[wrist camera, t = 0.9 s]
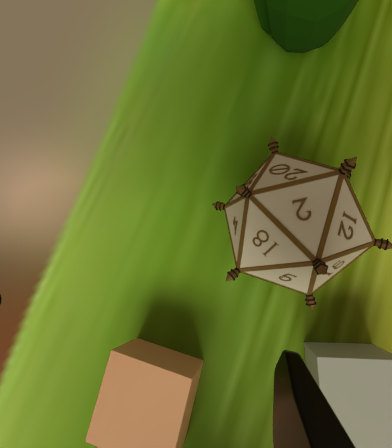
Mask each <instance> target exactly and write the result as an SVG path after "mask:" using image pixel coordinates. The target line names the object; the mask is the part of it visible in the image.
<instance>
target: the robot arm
mask: <svg viewBox="0 0 392 448" xmlns="http://www.w3.org/2000/svg"><path fill="white" fill-rule="evenodd" d="M0 304H1V295H0ZM273 444H274V448H356V447H355V446H354V444H353V442H352V441H351V439H350V437H349V436H348V434H347V432H346V431H345V429H344V427H343V426H342V424H341V422H340V421H339V419H338V417H337V416H336V414H335V412H334V411H333V409H332V408H331V406H330V404H329V403H328V401H327V399H326V398H325V396H324V394H323V393H322V391H321V389H320V388H319V386H318V384H317V383H316V381H315V379H314V378H313V376H312V374H311V373H310V371H309V369H308V368H307V366H306V364H305V363H304V361H303V359H302V358H301V356H300V355H299V354H298V353H296V352H293V351H288V350H284V351H283V352H282V354H281V356H280V358H279V361H278V363H277V365H276V368H275V373H274V404H273Z"/></svg>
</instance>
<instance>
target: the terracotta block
mask: <svg viewBox="0 0 392 448" xmlns="http://www.w3.org/2000/svg"><path fill="white" fill-rule="evenodd" d="M203 363H204V360H201V359H198V358H195V357H192V356H189V355H186V354H184V353H181V352H178V351H175V350H172V349H169V348H166V347H163V346H160V345H157V344H154V343H151V342H148V341H145V340H142V339H139V338H136V339H134V340H132V341H130V342H128V343H125V344H123V345H121V346H119V347H117V348H115V349H113V350H111V353H110V357H109V360H108V364H107V367H106V371H105V374H104V378H103V381H102V385H101V388H100V392H99V395H98V399H97V402H96V406H95V409H94V413H93V416H92V420H91V423H90V426H89V430H88V433H87V437H86V440H85V442H87V443H90V444H92V445H94V446H96V447H98V448H182V446H183V443H184V441H185V438H186V434H187V430H188V425H189V421H190V417H191V413H192V409H193V404H194V400H195V396H196V392H197V388H198V384H199V379H200V375H201V371H202V367H203Z"/></svg>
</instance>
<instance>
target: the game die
mask: <svg viewBox="0 0 392 448" xmlns="http://www.w3.org/2000/svg"><path fill="white" fill-rule="evenodd" d="M277 144H278V142H276V141H275V140H273V139H272V138H271V139H270V142H269V145H268V146H269V147H270V148H269V150H270V151H271V152H272V154H271V155H270V157H269V158H268V159H267V160H266V161H265V162H264V163H263V164H262V165H261V166H260V167H259V169H258V170H257V171H256V172H255V173H254V174H253V175H252V176H251V177H250V178H249V179H248V181H247V182H246V183H245V184H243V185H241V186H236V189H237V192H236V194H235V195H234V196H233V197H232V198H231V199H230V200H229V201H228V202H227V203H226V204H223V203H221V202H216V203H213V204H212V205H213V206H214V207H215V208H216V210H220V211H221V210H225V215H226V219H227V224H228V229H229V234H230V239H231V244H232V249H233V254H234V259H235V264H236V268H235V269H233V270H232V269H231V271H230V272H227V273H228V275H227V278H226V281H230V280H235V278H236V277H238V275H239V273H240V272H241V273H244V274H247V275H250V276H253V277H256V278H259V279H262V280H265V281H267V282H270V283H273V284H276V285H279V286H282V287H285V288H288V289H291V290H294V291H297V292H300V293H302V294H305V295H306V299H305V301H306V305H308V306H309V307H310V308H311V309H312V310H313V309H314V306H315V305H316V302H315V298H314V297H313V295H312V294H313V293H314V292H315V291H317V290H318V289H319V288H320V287H322V286H323V285H324V284H325V283H327V282H328V281H329V280H330V279H332V278H333V277H334V276H336V275H337V274H338V273H339V272H341V271H342V270H343V269H344V268H346V267H347V266H348V265H349V264H351V263H352V262H353V261H354V260H356V259H357V258H358V257H359V256H361V255H362V254H363V253H364V252H366V251H367V250H368V249H370V248H371V247H372V246H377V247H378V248H379V249H381V248H382V249H384V250H386V249H390V248H392V244H391V243H390V242H389V241H388V239H387V240H383V238H381V239H375V237H374V235H373V233H372V231H371V229H370V226H369V224H368V222H367V220H366V217H365V215H364V213H363V211H362V209H361V206H360V204H359V202H358V200H357V198H356V195H355V193H354V191H353V189H352V187H351V184H350V182H349V180H348V178H349V179H350V177H351V170H352V169H354V168H355V166H356V164H355V162H356V159H357V157H354V158H351V159H345V160H344V163H341V167H340V169H339V168H335V167H331V166H327V165H324V164H320V163H316V162H313V161H309V160H305V159H301V158H298V157H294V156H290V155H287V154H283V153H279V152H278V147H279V146H278V145H277Z"/></svg>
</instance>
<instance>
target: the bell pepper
mask: <svg viewBox="0 0 392 448" xmlns="http://www.w3.org/2000/svg"><path fill="white" fill-rule="evenodd" d="M358 1H359V0H254V2H255V6H256V10H257V14H258V17H259V20H260V23H261V26H262V28H263V29H264V30H265V31H266V32H267V33H268V34H272V36H273V38H274V39H275V41H276V42H277V43H278V44H280V45H281V46H282V47H283V48H284V49H285V50H286V51H287V52H307V51H310V50H312V49H315V48H318V47H321V46H323V45H324V44H325V43H327V42H328V41H329V40H330V39H331V38H332V37H333V35H334V34H335V33H336V32H337V31H338V30H339V29H340V28H341V26H342V25H343V23H344V22H345V20H346V19H347V18H348V16H349V15H350V13H351V12H352V10H353V9H354V7H355V5H356V4H357V2H358Z"/></svg>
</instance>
